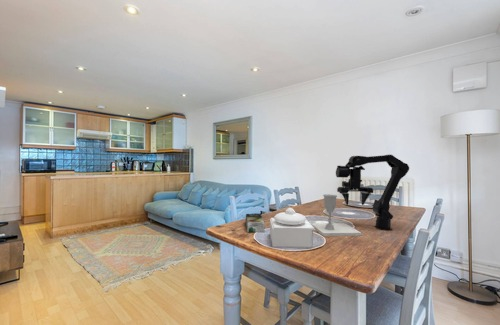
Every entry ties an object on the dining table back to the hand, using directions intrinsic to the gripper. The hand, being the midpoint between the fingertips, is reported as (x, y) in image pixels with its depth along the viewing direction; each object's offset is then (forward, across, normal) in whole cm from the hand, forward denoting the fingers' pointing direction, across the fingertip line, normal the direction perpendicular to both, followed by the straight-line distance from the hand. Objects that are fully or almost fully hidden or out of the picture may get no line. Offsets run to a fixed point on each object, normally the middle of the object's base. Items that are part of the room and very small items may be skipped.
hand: (354, 205), depth 132 cm
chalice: (+12, +18, +7) cm, 22 cm away
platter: (+13, +14, +5) cm, 20 cm away
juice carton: (+14, +57, -3) cm, 59 cm away
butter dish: (+14, +42, +20) cm, 49 cm away
